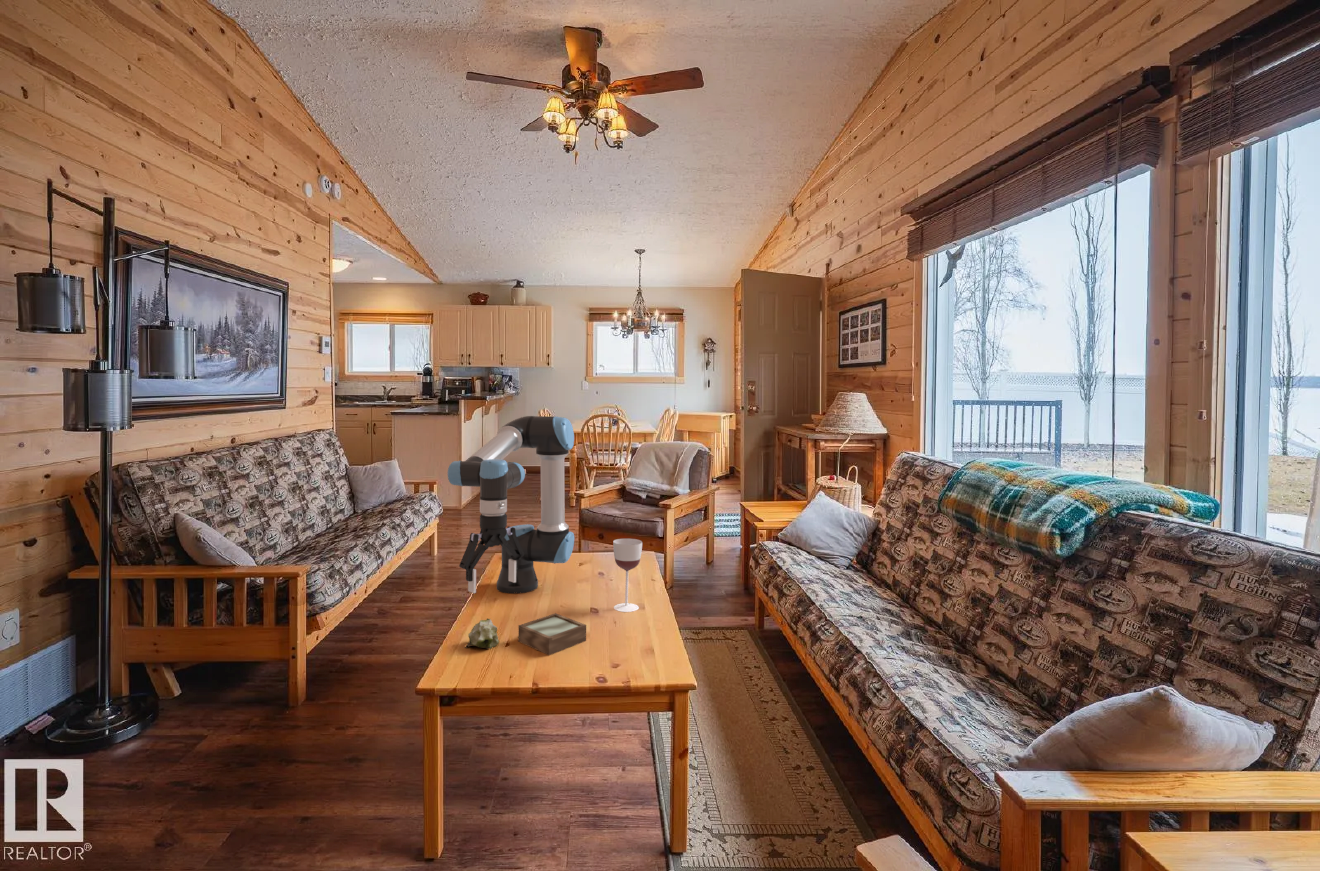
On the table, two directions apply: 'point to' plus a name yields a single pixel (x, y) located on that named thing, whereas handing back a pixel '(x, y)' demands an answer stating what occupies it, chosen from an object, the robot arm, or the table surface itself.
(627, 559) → the wineglass
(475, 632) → the fruit
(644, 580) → the table surface
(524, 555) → the robot arm
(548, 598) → the table surface
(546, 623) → the stand
